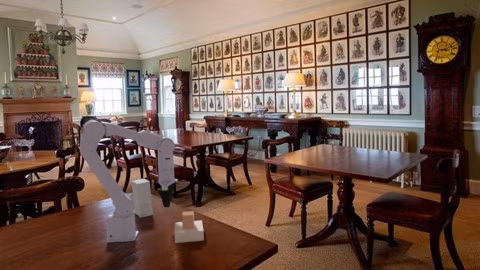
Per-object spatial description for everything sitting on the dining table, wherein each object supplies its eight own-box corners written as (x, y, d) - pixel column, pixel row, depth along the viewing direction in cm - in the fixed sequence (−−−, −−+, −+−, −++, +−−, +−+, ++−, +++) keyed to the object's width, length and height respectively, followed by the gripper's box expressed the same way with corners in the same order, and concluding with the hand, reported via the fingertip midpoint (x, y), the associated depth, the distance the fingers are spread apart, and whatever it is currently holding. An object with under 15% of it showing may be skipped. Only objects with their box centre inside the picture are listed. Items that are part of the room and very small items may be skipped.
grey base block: (175, 244, 118) (174, 233, 117) (175, 232, 127) (175, 222, 127) (203, 241, 119) (203, 230, 119) (202, 230, 129) (201, 220, 129)
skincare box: (153, 215, 145) (151, 181, 143) (139, 218, 142) (137, 183, 140) (146, 210, 152) (144, 177, 150) (133, 212, 149) (131, 179, 147)
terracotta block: (182, 229, 121) (181, 215, 120) (183, 224, 124) (182, 211, 124) (193, 228, 121) (193, 215, 120) (194, 224, 125) (193, 211, 124)
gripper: (175, 172, 121) (176, 209, 122) (178, 164, 135) (179, 197, 137) (155, 173, 120) (157, 210, 122) (160, 165, 134) (162, 198, 136)
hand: (167, 203), depth 129 cm, fingers open, 7 cm apart
